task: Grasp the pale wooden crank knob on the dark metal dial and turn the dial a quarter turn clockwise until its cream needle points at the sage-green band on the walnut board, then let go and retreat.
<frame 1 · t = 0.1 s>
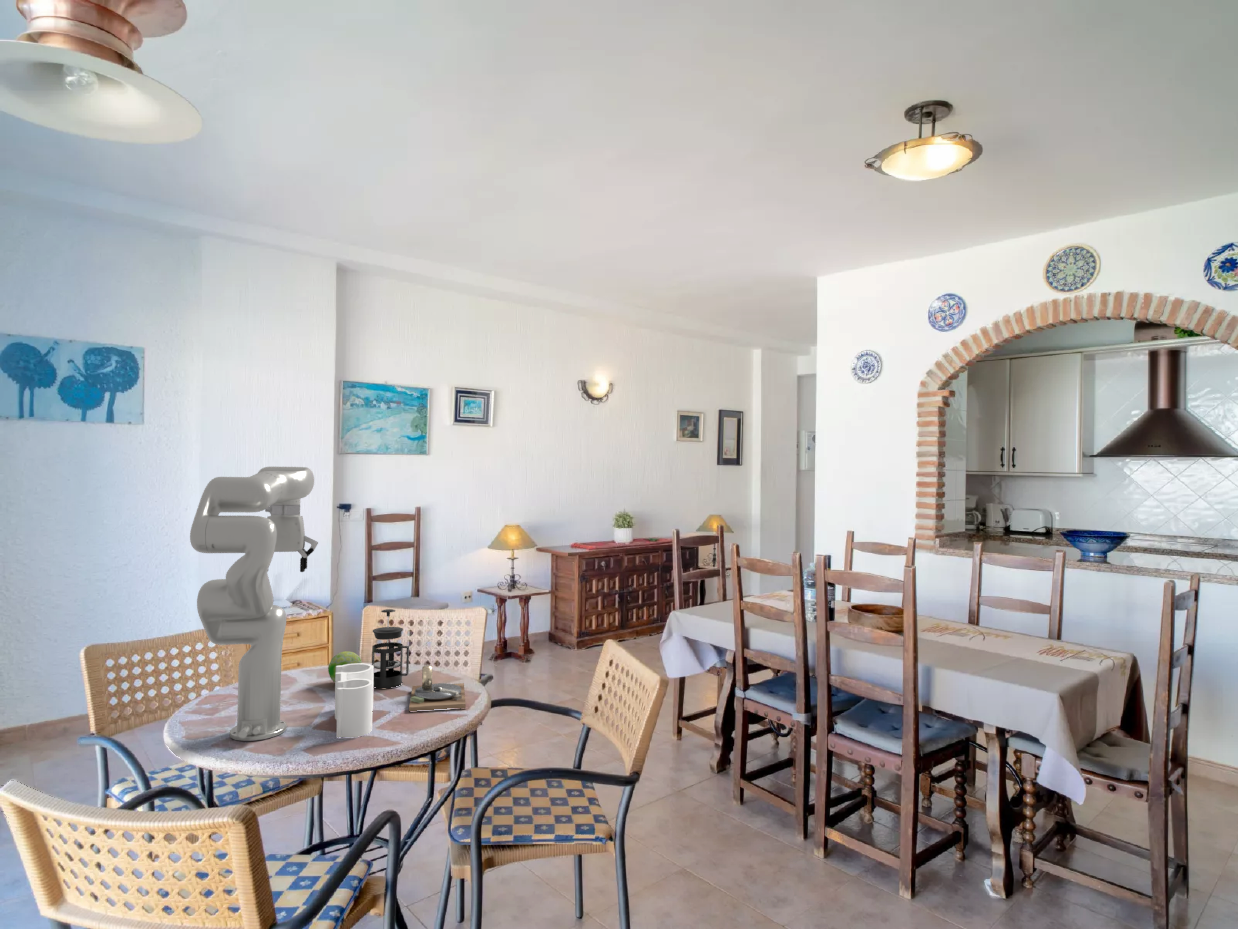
hand: (284, 571, 199), 37 cm above the table, tool pointing down, fingers open, 9 cm apart
dial board: (437, 699, 202), on the table
decorative ball: (344, 685, 216), on the table
white utensil holder: (354, 722, 184), on the table
dial: (439, 681, 202), point 5 cm above the table, hinge at 0.0°
french press: (388, 685, 216), on the table
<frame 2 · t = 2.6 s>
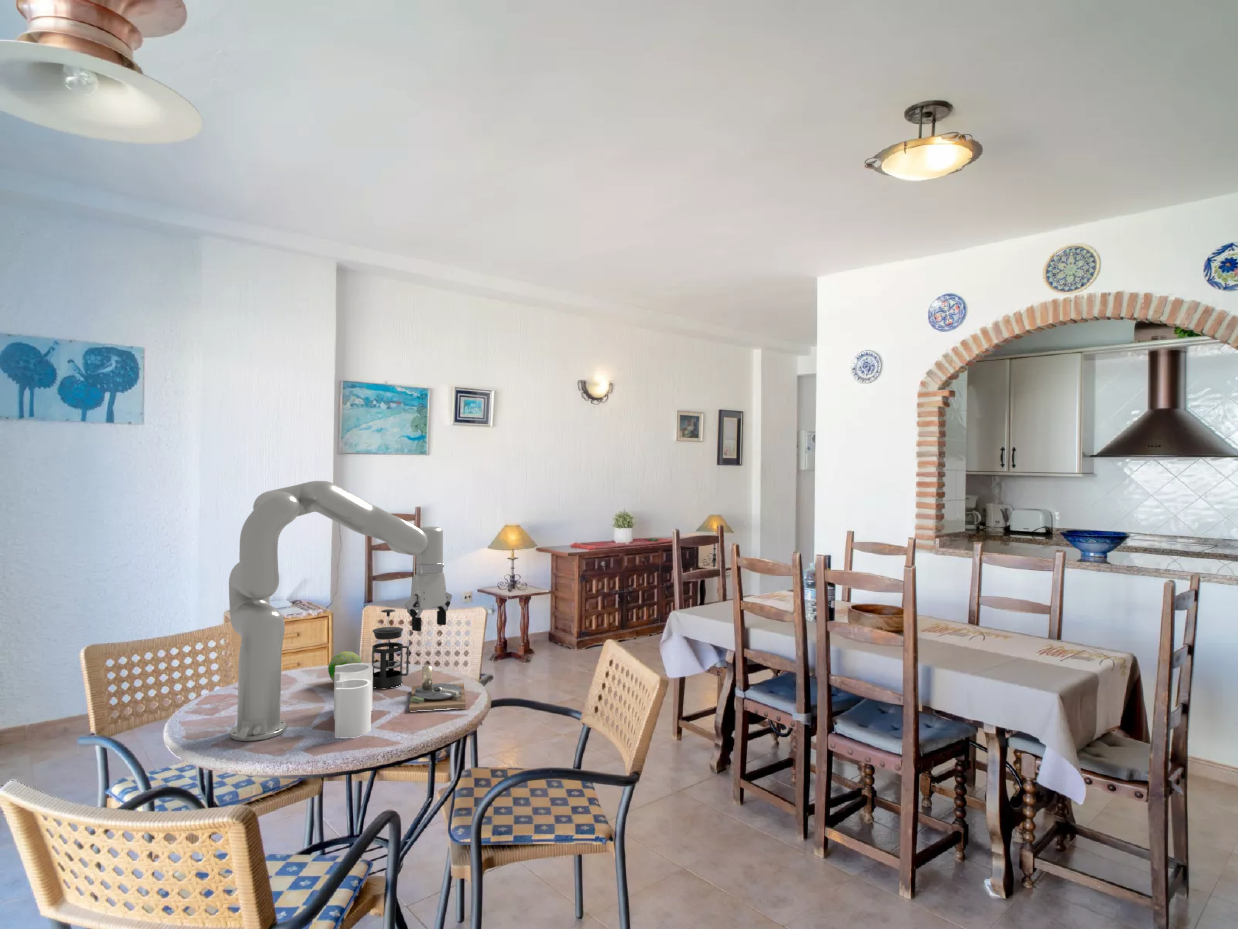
hand: (429, 627, 205), 20 cm above the table, tool pointing down, fingers open, 9 cm apart
nothing on the table moved.
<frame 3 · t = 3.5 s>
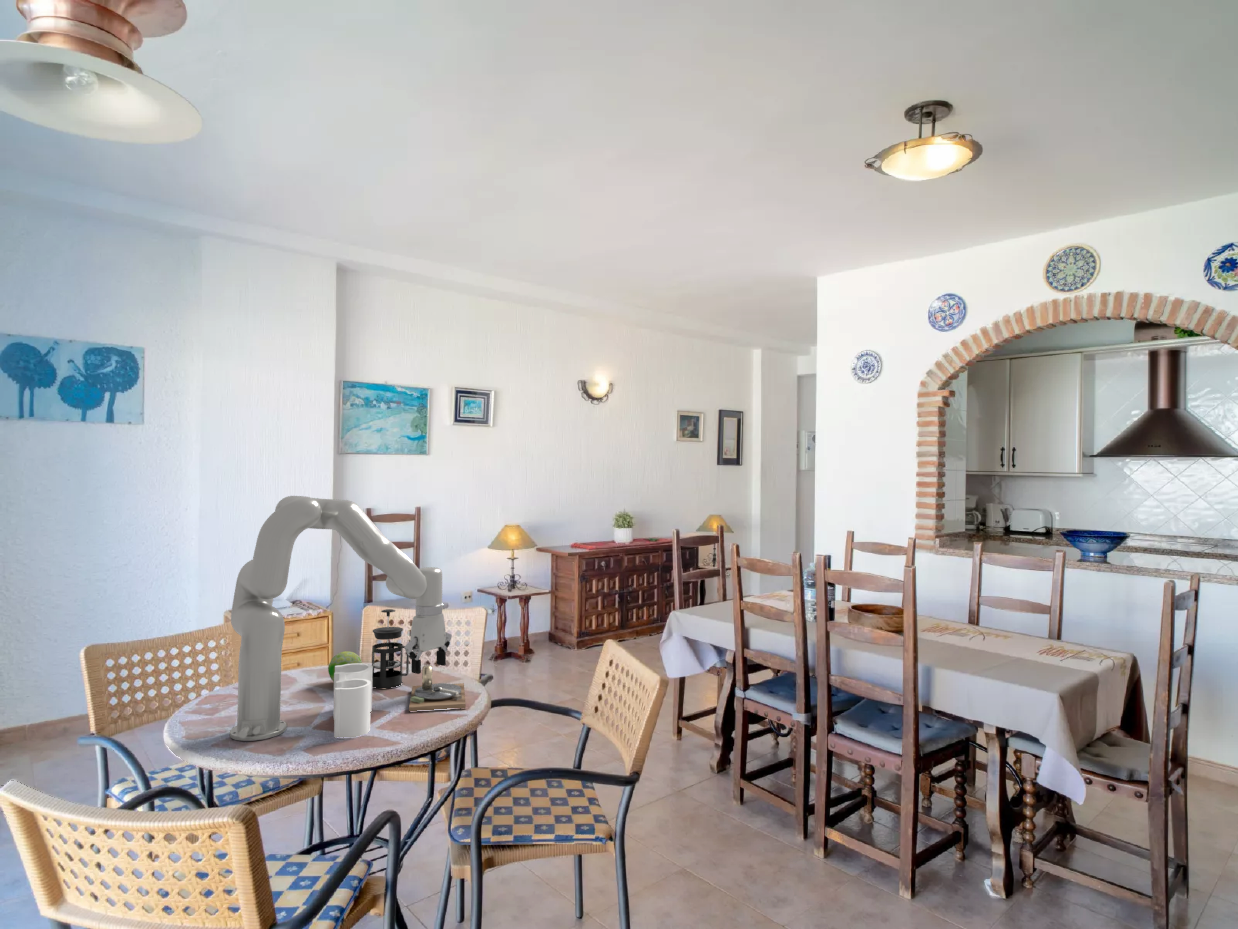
hand: (428, 669, 205), 8 cm above the table, tool pointing down, fingers open, 9 cm apart
nothing on the table moved.
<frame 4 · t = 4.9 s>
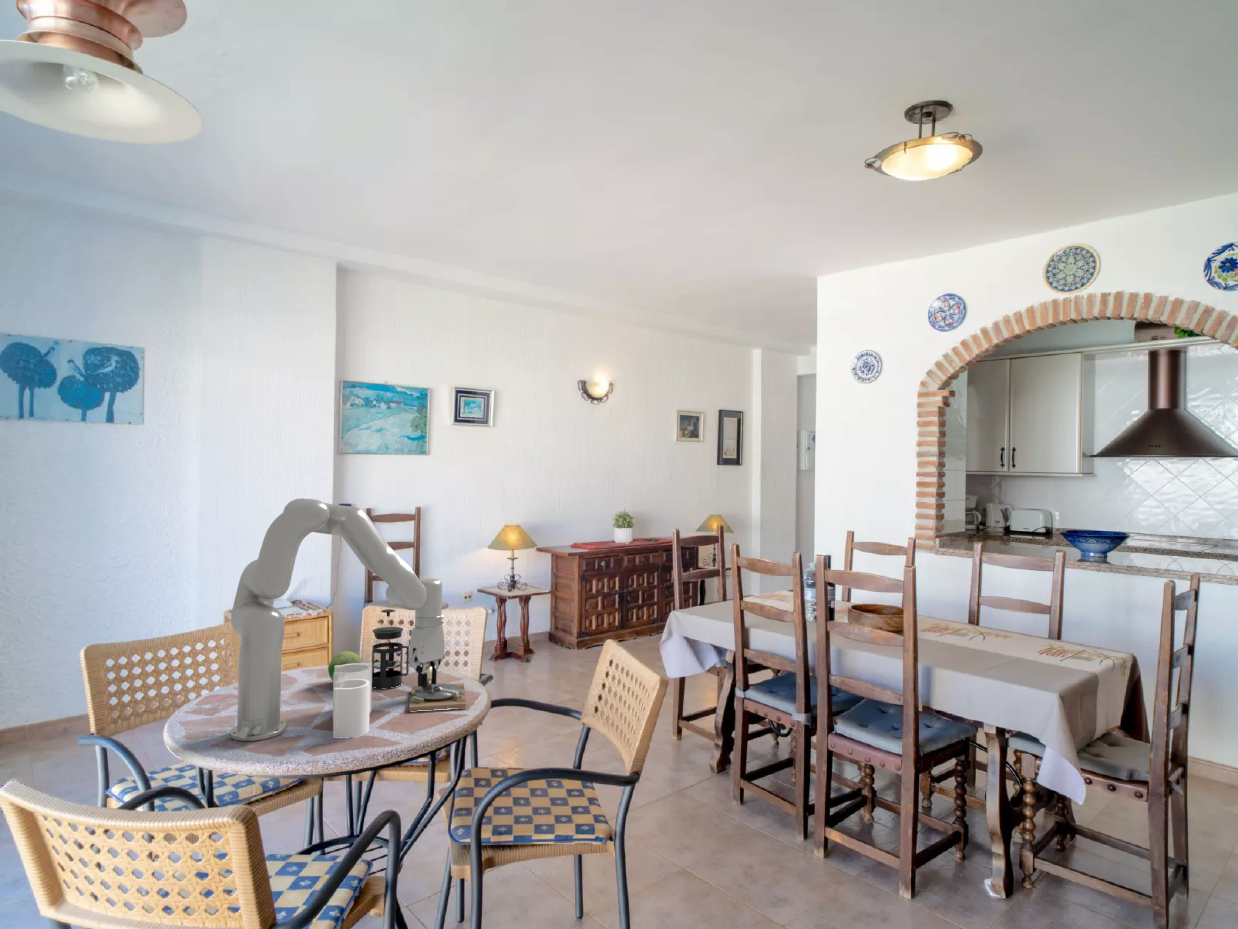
hand: (427, 684, 205), 4 cm above the table, tool pointing down, fingers closed on dial, 2 cm apart
dial: (439, 681, 202), point 5 cm above the table, hinge at 0.0°, touching gripper
everything else where it was.
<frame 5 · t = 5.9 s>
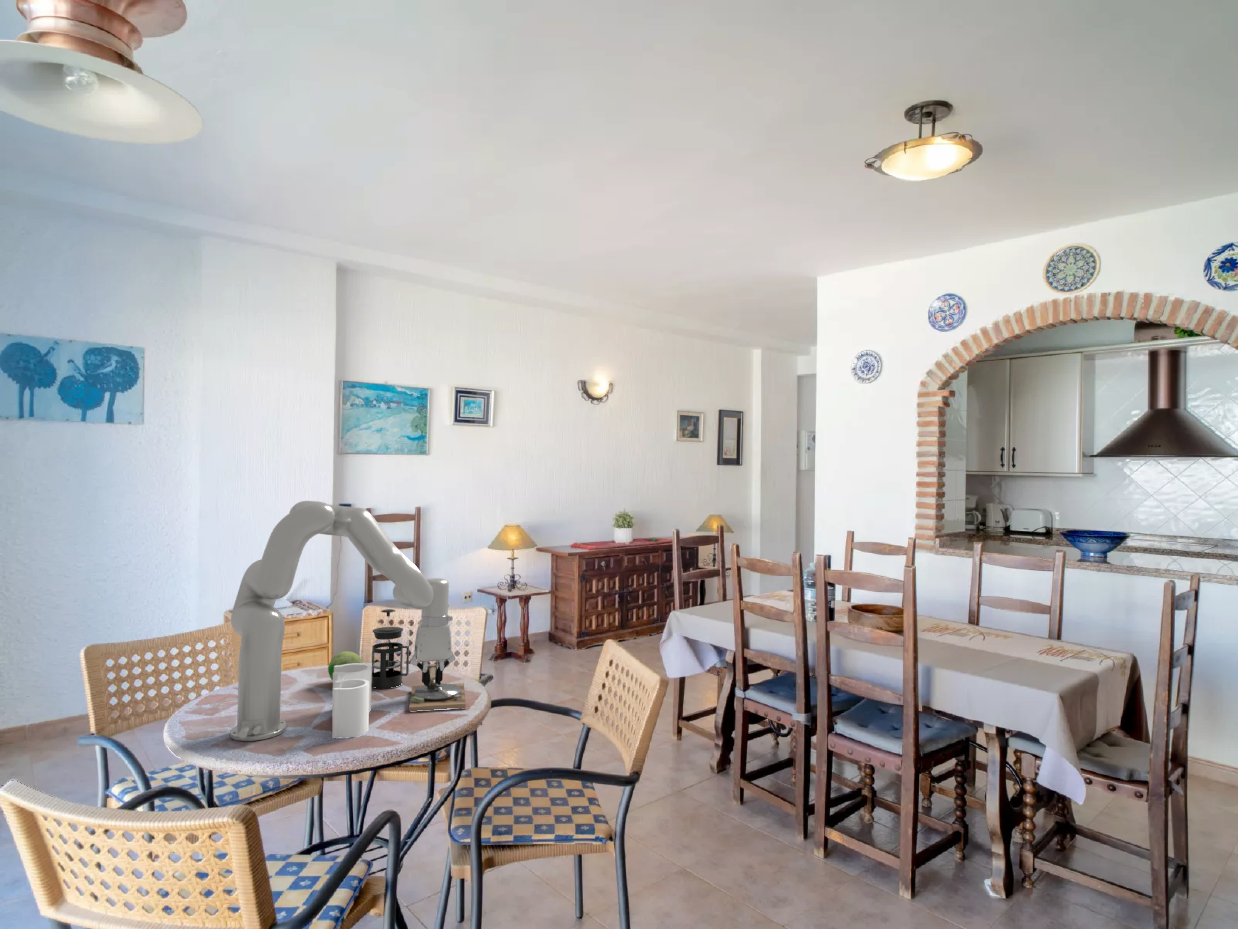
hand: (432, 683, 206), 4 cm above the table, tool pointing down, fingers closed on dial, 3 cm apart
dial: (439, 681, 202), point 5 cm above the table, hinge at -20.8°, touching gripper
everything else where it was.
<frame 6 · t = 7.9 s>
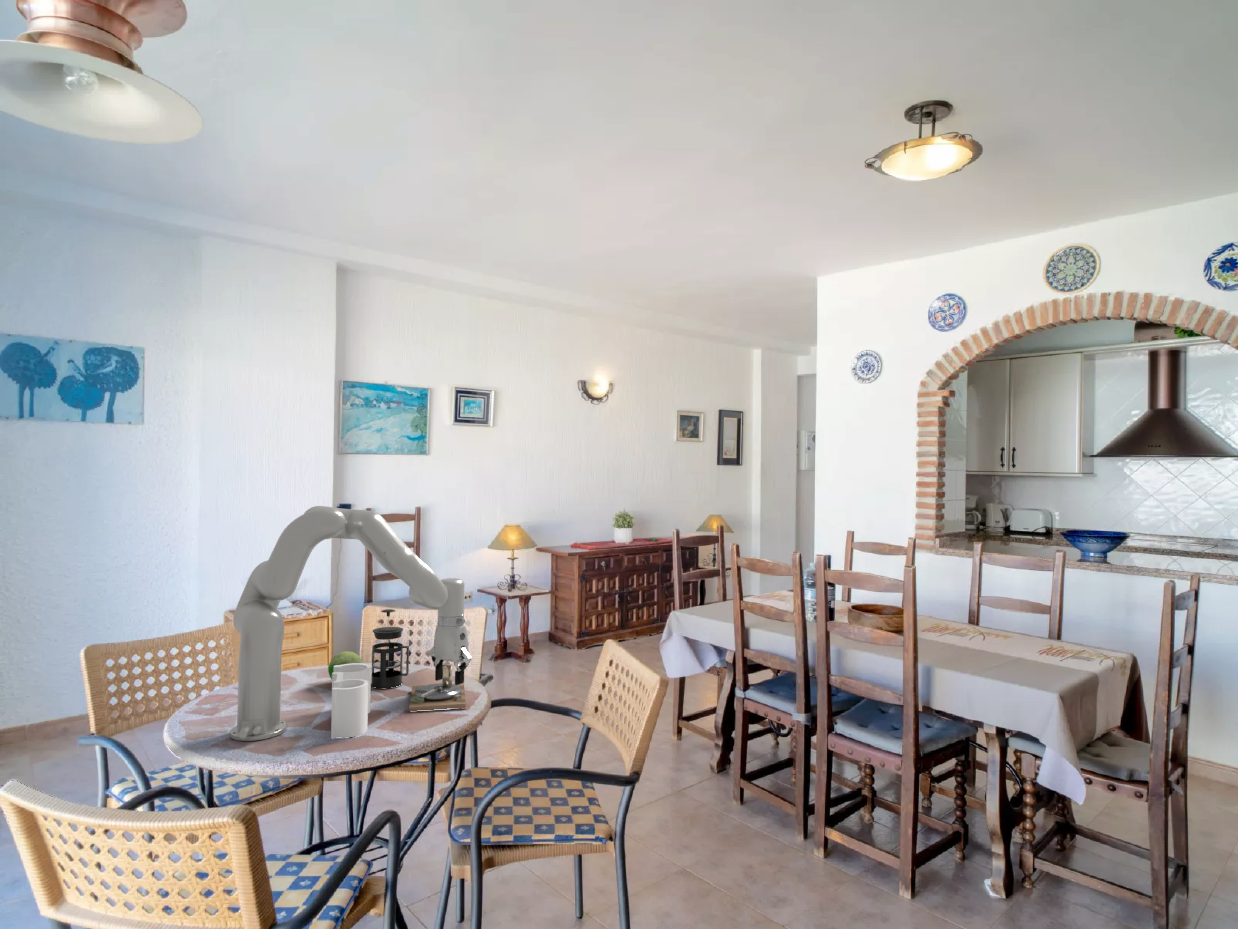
hand: (449, 681, 206), 4 cm above the table, tool pointing down, fingers open, 7 cm apart
dial: (437, 681, 202), point 5 cm above the table, hinge at -78.9°
everything else where it was.
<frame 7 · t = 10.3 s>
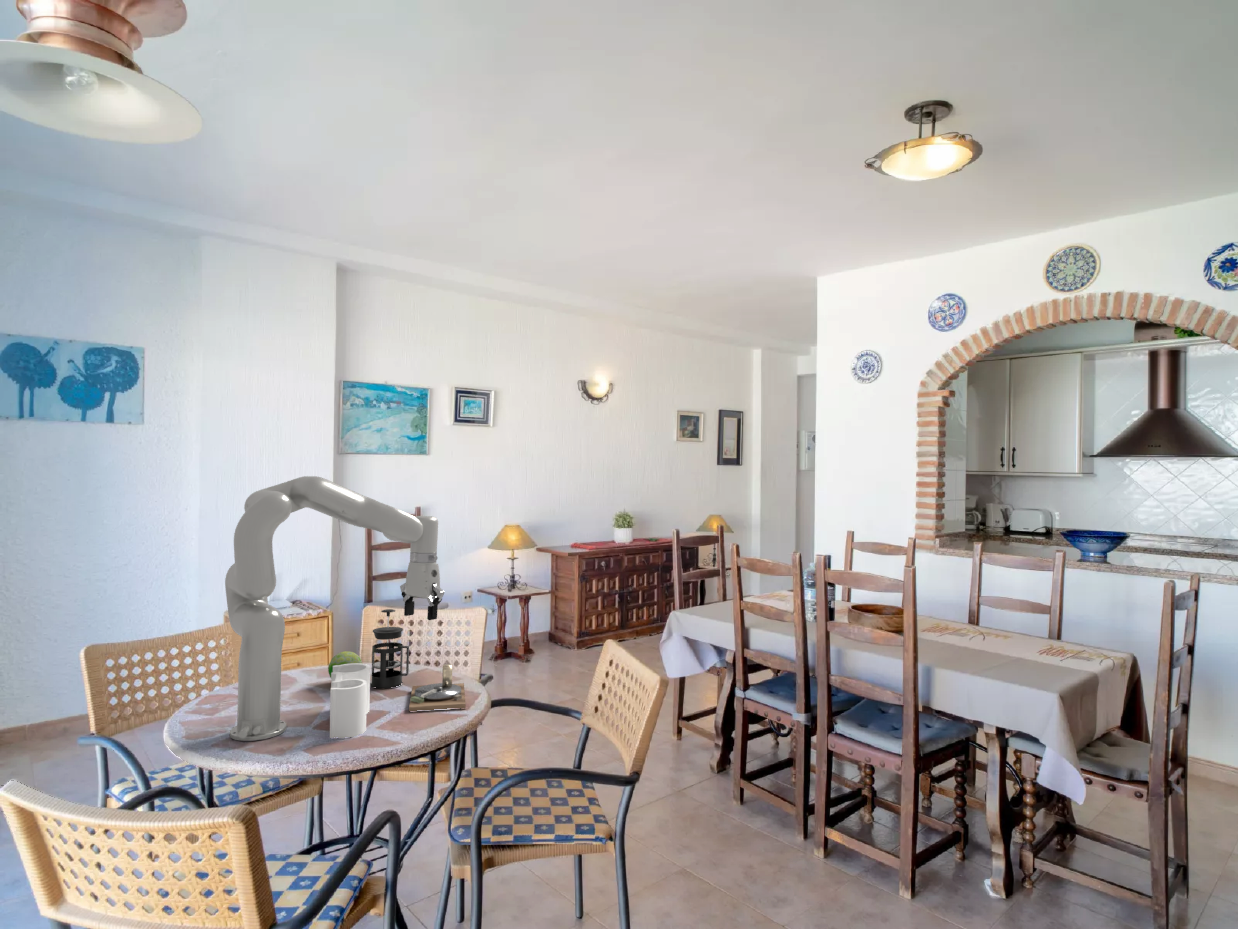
hand: (420, 617, 205), 23 cm above the table, tool pointing down, fingers open, 9 cm apart
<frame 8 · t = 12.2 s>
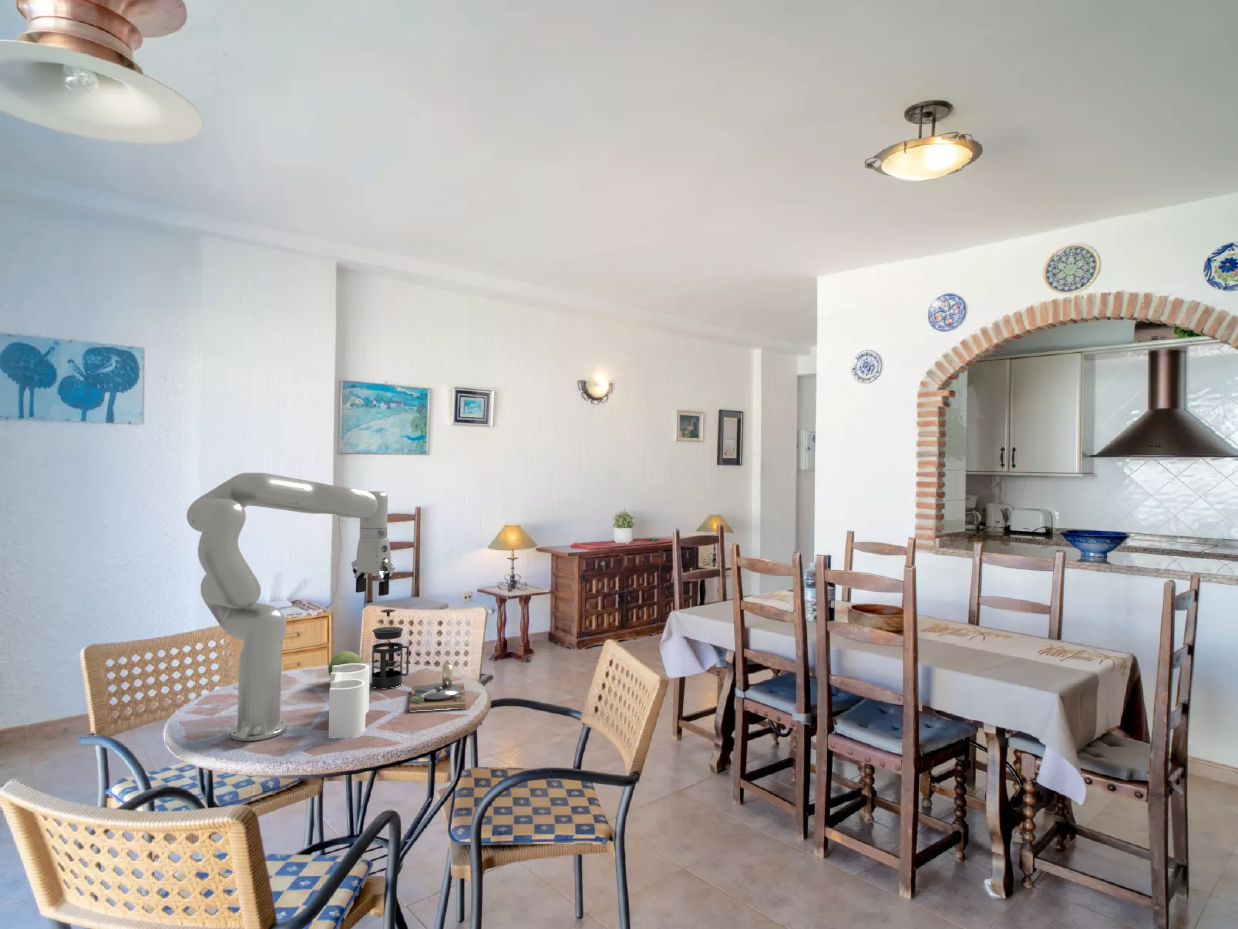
hand: (372, 593, 203), 30 cm above the table, tool pointing down, fingers open, 9 cm apart
at the end: dial at -79° (first picture: +0°); the gripper is holding nothing; french press moved 0.2 cm from its start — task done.
